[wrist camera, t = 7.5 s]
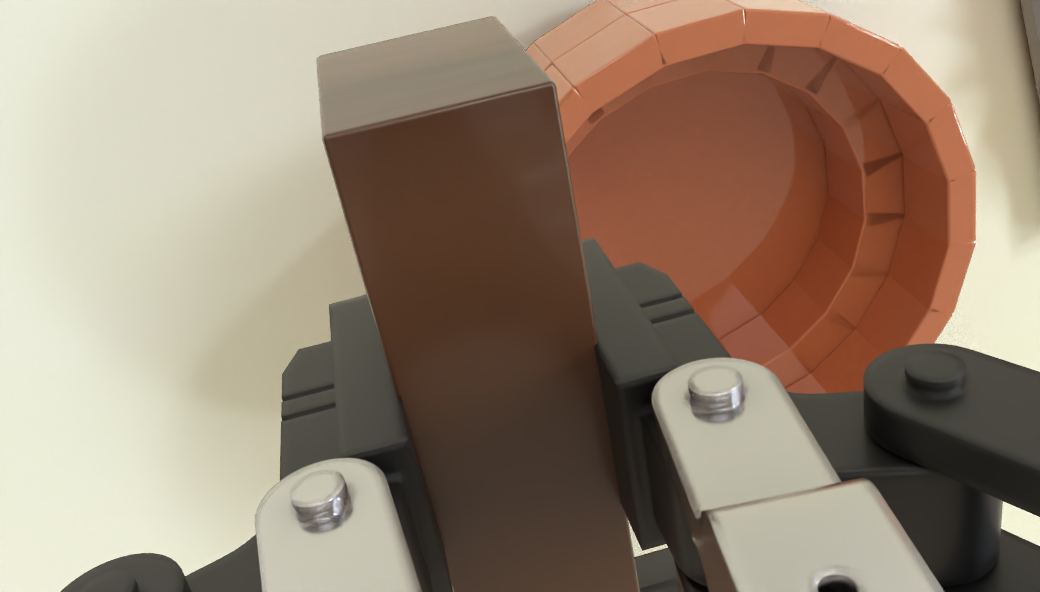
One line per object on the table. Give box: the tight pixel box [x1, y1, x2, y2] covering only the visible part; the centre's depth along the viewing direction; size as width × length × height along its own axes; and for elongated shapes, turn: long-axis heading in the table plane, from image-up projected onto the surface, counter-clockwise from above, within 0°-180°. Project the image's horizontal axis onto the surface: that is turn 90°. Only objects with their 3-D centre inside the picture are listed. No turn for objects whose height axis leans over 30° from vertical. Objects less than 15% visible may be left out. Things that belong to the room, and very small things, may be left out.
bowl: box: [526, 0, 976, 394], centre depth 27 cm, size 13×13×5 cm
